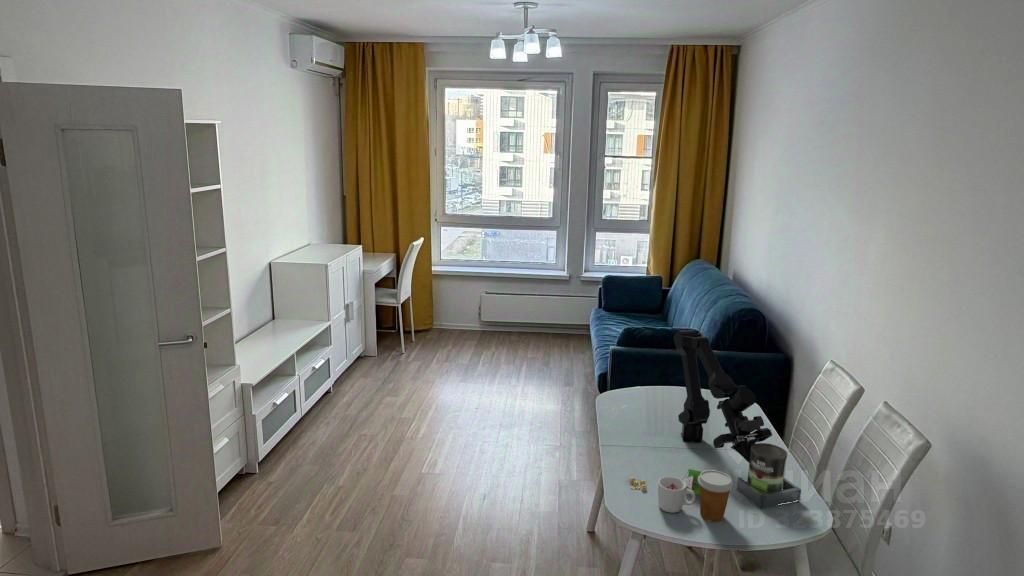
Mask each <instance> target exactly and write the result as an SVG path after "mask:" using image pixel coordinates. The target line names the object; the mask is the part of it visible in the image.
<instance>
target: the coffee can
mask: <svg viewBox="0 0 1024 576" xmlns="http://www.w3.org/2000/svg"><path fill="white" fill-rule="evenodd" d="M787 458H788V452H787V451H786V450H785V449H784V448H782V447H781V446H778V445H776V444H772V443H766V442H756V443H755V444H754V445H752V446H751V455H750V463H748V472H747V473H748V474H747V478H746V479H747V481H746V482H747V483H748V484H750V485H751V486H752V487H754V488H755V489H756V490H758V491H759V492H760V493H762V494H765V493H771V492H776V491H781V490H782V487H783V480H784V478H785V473H786V464H787Z"/></svg>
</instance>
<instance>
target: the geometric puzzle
mask: <svg viewBox="0 0 1024 576" xmlns="http://www.w3.org/2000/svg"><path fill="white" fill-rule="evenodd" d="M701 472H702V471H698V470H695V469H690V468H689V469H688V471H687V472H686V474H685V475H684V476H685V477H683V478H682V479H681V480H682V481H684V482H685V484H686V488H687V489H690V490H692V491H694V493H695V495H699V496H700V493H699V492H700V491H699V483H698V476H700V473H701ZM686 475H687V476H686Z"/></svg>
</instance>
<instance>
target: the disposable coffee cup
mask: <svg viewBox="0 0 1024 576" xmlns="http://www.w3.org/2000/svg"><path fill="white" fill-rule="evenodd" d="M700 472H701V473H700V476H698V483H699V491H700V492H699V493H700V495H699V512H700V513H699V514H700V517H701V518H702V519H704V520H706V521H708V522H714V523H715V522H716V523H717V522H721V521H722V520H723V519H724V515H725V513H726V508H727V504H728V500H729V497H730V496H729V495H730V492H731V490H732V488H733V485H734V483H733V481H732V478H731V476H730V475H729V474H727V473H725V472H724V471H720V470H715V469H706V470H703V471H700Z"/></svg>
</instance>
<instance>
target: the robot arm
mask: <svg viewBox="0 0 1024 576" xmlns="http://www.w3.org/2000/svg"><path fill="white" fill-rule="evenodd" d="M673 342H674V346H675V349H676V351H677V352H678V353H679V355H680V356H681V361H682V362H681V363H682V369H683V375H684V382H685V383H684V384H685V391H686V398H685V401H684V403H683V411H682V412H680V413H678V416H677V417H678V421H679V423H680V424H682V425H681V426H682V428H681V432H680V436H681V439H682V442H684V443H685V442H686V443H699V444H700V443H701V444H702V439H703V438H704V437H703V436H704V435H703V434H704V427H703V424H707V422H708V419H709V418H710V415H711V409H710V402H709V400H708V399H705V398H704V396H703V394H702V389H701V383H700V382H701V381H700V380H701V379H700V374H699V367H698V360H697V359H698V358H697V355H698V357H699V360H700V362H701V363H702V366H703V368H704V370H705V372H706V374H707V376H708V388H709V391H710V393H711V395H712V397H713V398H714V399H717V400H718V399H722V400H719V401H718V404H717V405H716V409H717V410H721V412H722V415H723V417H724V419H725V423H724V427H725V428H728V430H729V433H722V434H719V435H718V436H717V437H715V438H713V440H712V444H713V447H714V448H715V449H722V448H724V447H725V445H726V444H730V443H731V444H732V446H730V448H731V450H732V449H733V450H734V451H735V452H737V453H738V454H739V455H740V456H741V457H742V458H743V459H744V460H745V461H746V462H747V463H748V464H749V463H750V455H751V446H752V445H754V444H757V443H763V441H765V440H767V439H769V438H771V437H772V436H773V433H772V431H771V429H770V428H768V427H764V425H765V422H764V419H763V417H762V415H756V416H753V419H749V417H748V416H747V415H744V414H743V412H744V411H746V410H748V408H751V407H752V406H753V405H755V403H756V401H757V397H756V394H755V393H754V392H753V390H751V389H749V388H747V386H746V385H745V384H744V385H742V384H741V385H736V384H735V382H734V381H733V379H732V378H731V376H730V375H728V374H727V373H726V372H724V370H723V369H722V367H721V365H720V362H719V360H718V358H717V357H716V354H715V353H714V350H713V348H712V347H711V344H710V339H709V338H708V337H706V336H704V333H703V334H701V333H699V332H697V331H696V330H695V329H685V330H677V331H676V332H675V334H674V335H673ZM723 399H724V400H723ZM761 427H764V428H761Z"/></svg>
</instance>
